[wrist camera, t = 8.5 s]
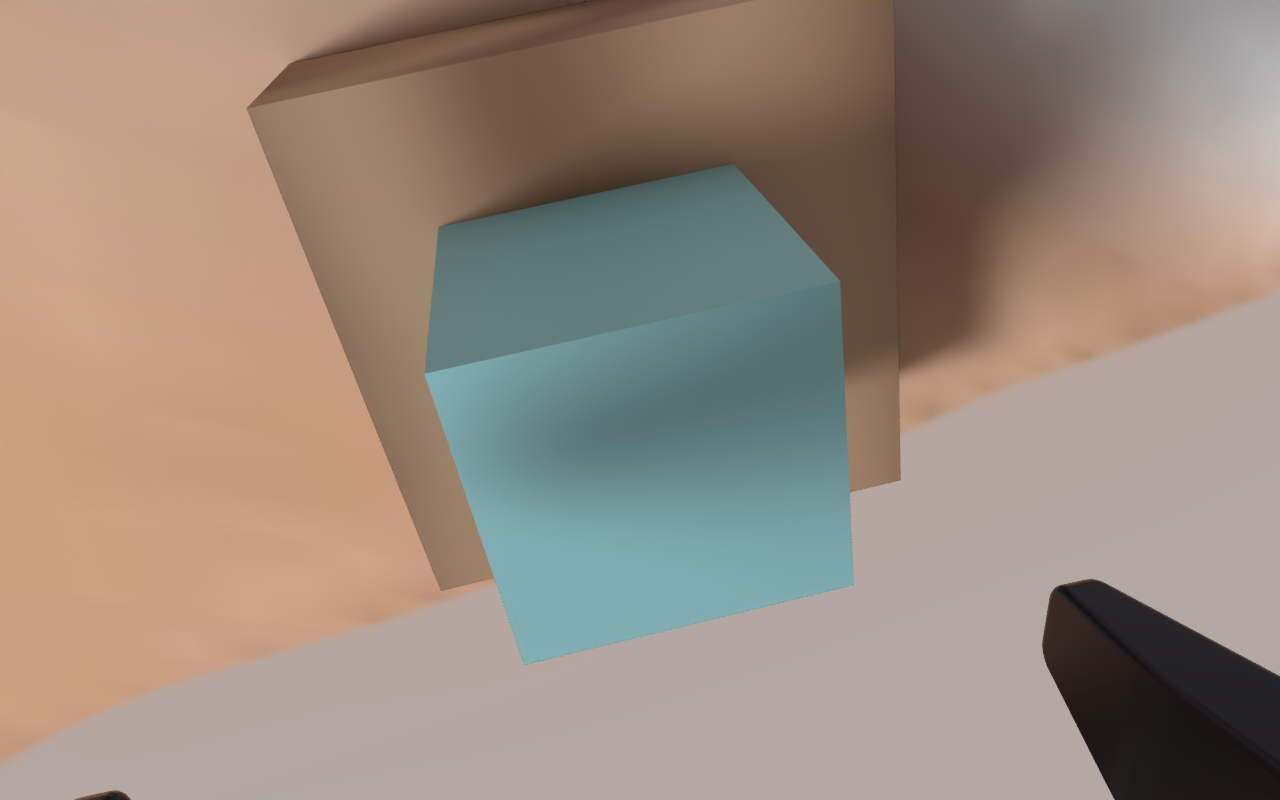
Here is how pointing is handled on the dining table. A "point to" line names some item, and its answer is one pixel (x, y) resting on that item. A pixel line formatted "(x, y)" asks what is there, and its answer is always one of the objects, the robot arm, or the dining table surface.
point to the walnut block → (585, 181)
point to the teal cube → (643, 408)
